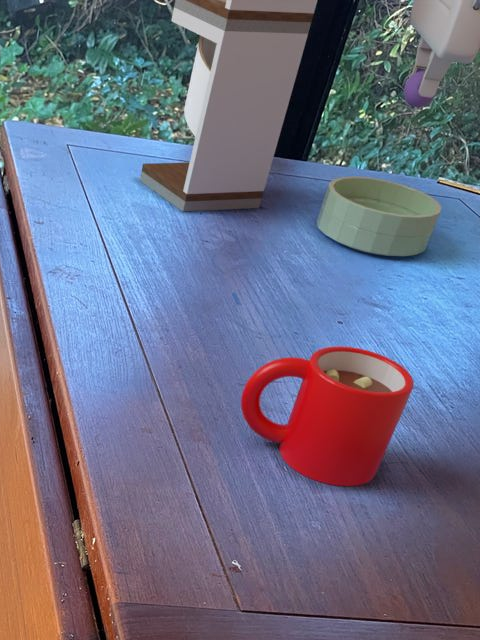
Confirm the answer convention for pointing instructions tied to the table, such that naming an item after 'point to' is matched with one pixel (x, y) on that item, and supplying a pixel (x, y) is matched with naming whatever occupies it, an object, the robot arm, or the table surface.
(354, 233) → the bowl
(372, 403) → the mug
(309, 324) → the table surface
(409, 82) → the ball
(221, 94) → the brown-rimmed upright block
